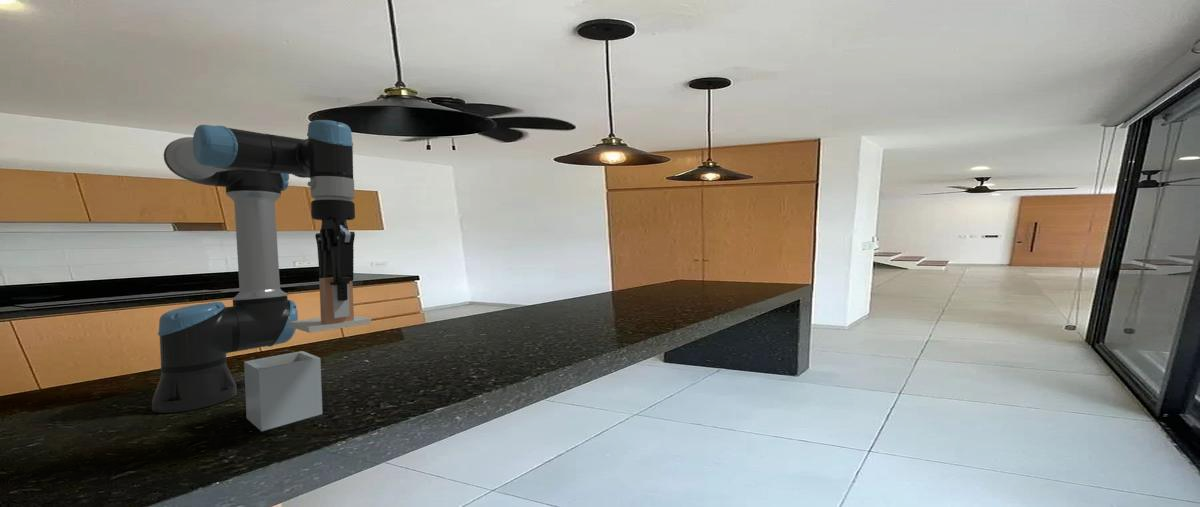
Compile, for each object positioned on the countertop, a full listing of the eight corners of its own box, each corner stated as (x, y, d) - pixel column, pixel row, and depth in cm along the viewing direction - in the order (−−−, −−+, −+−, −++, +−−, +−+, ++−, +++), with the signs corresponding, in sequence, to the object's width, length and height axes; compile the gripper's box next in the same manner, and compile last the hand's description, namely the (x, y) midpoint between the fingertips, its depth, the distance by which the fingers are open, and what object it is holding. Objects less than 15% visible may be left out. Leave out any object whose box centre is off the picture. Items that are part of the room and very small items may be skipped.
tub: (246, 418, 95) (244, 361, 95) (304, 403, 104) (302, 350, 103) (261, 431, 88) (259, 370, 88) (322, 413, 97) (320, 358, 97)
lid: (289, 326, 90) (287, 278, 90) (348, 318, 99) (346, 274, 99) (309, 332, 83) (307, 280, 83) (371, 323, 92) (369, 275, 92)
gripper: (297, 202, 90) (302, 315, 91) (328, 195, 80) (333, 323, 81) (337, 203, 96) (341, 310, 97) (370, 198, 86) (374, 316, 86)
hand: (337, 315), depth 89 cm, fingers closed on lid, 3 cm apart
